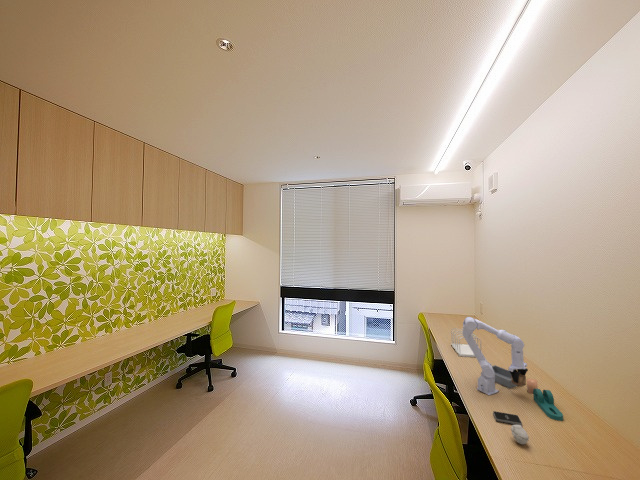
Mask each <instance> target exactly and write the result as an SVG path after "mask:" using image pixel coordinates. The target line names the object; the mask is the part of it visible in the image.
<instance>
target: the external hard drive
mask: <svg viewBox="0 0 640 480" xmlns="http://www.w3.org/2000/svg"><path fill="white" fill-rule="evenodd" d="M492 414H493V417H494V420H495V422H497V423H499V424H506V425H509V426H512V425H521V426H522V427H523V422H522V421H521V419H520V417H519V415H518V414H514V413H513V414H512V413H508V412H501V411H495V410H492Z"/></svg>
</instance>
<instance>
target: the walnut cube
mask: <svg viewBox="0 0 640 480" xmlns="http://www.w3.org/2000/svg"><path fill="white" fill-rule="evenodd" d="M511 378H512V375H511ZM512 383H513V384H516V385H518V386H517V387H524V386H527V378H526V375H525V376H524V375H522V374H520V375H519V380H518V383H516V382H514V381H513V378H512Z"/></svg>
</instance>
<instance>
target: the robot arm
mask: <svg viewBox="0 0 640 480" xmlns="http://www.w3.org/2000/svg"><path fill="white" fill-rule="evenodd" d="M476 330H478V331H479V330H484V331H487V332H488V333H491V334H492V335H495V336H496V338H497V339H498V340H500V341H502V342H504V343H506V344H509V345H511V346H510V347H511V348H510V353H511V364H510V366H508V368H507V370H509V372H510V373H511V375H512V378H513V381H514V382H516V383H518V380H519V375H520V374H522V375H524V376H526V374H527V372H528V371H529V370H528V363H527V362H525V360H524V359H525V357H524V347H525V344H524V343H525V342H524V341H523V340H522V339H521V338H520V337H519V336H518V335H515V334H512V333H510V332H507V330H505V329H497V328H495V327H493V326H491V325H489V324H487V323H485V322H483V321H481V320H479V319H477V318H474V317H471V316H467V317H465V318H464V319H463V322H462V330H461V331H462V332H461V333H462V334H461V335H463V336H462V337H464V338H463V339H465V342H466V343H467V344H468V345H469V347H470V348H471V350H472V352H473V353H474V355H475V357H474V358H476V360H477V362H478V364H479V365H480V368H481V372H480V376H479V377H478V378H477V387H476V390H477V391H480V392H481V393H484V394H486V395H487V396H492V395H494V394H496V393H497V394H498V392H500V390H498V389H496V382H495V372H494V370H493V368H492V366H493V365H492V363H491V362H489V361H488V360H487V359H486V357H485V356H484V354H483V352H481V351H482V349H481V348H480V347H478V346H479V344H477V341H476V342H475V339H474V338H475V337H474V336H472V333H473V332H474V331H476ZM473 334H474V333H473Z"/></svg>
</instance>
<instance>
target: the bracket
mask: <svg viewBox="0 0 640 480" xmlns="http://www.w3.org/2000/svg"><path fill="white" fill-rule="evenodd" d="M532 396H533V401H534V402H535V404H536V405H537V406H538V407H539V409H541V411H542V412H543V413H544V414H545V416H546V417H547V418H549V419H551V420H554V421H560V422H561V421H564V414H563V412H561V411H560V410H559V408H558V407H557V406H556V405H555V399H554V398H555V397H554V394H553V393H552V391H551V390H550V389H543V390H541V389H540V388H538V389H533V394H532Z"/></svg>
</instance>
